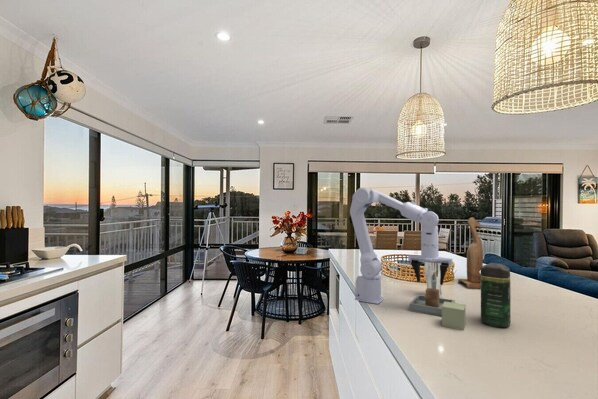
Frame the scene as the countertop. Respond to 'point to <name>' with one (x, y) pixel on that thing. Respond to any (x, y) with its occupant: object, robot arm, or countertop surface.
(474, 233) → the bird sculpture
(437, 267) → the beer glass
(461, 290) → the countertop surface
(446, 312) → the olive block
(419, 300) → the grey tray
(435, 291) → the walnut block
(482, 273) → the coffee jar
